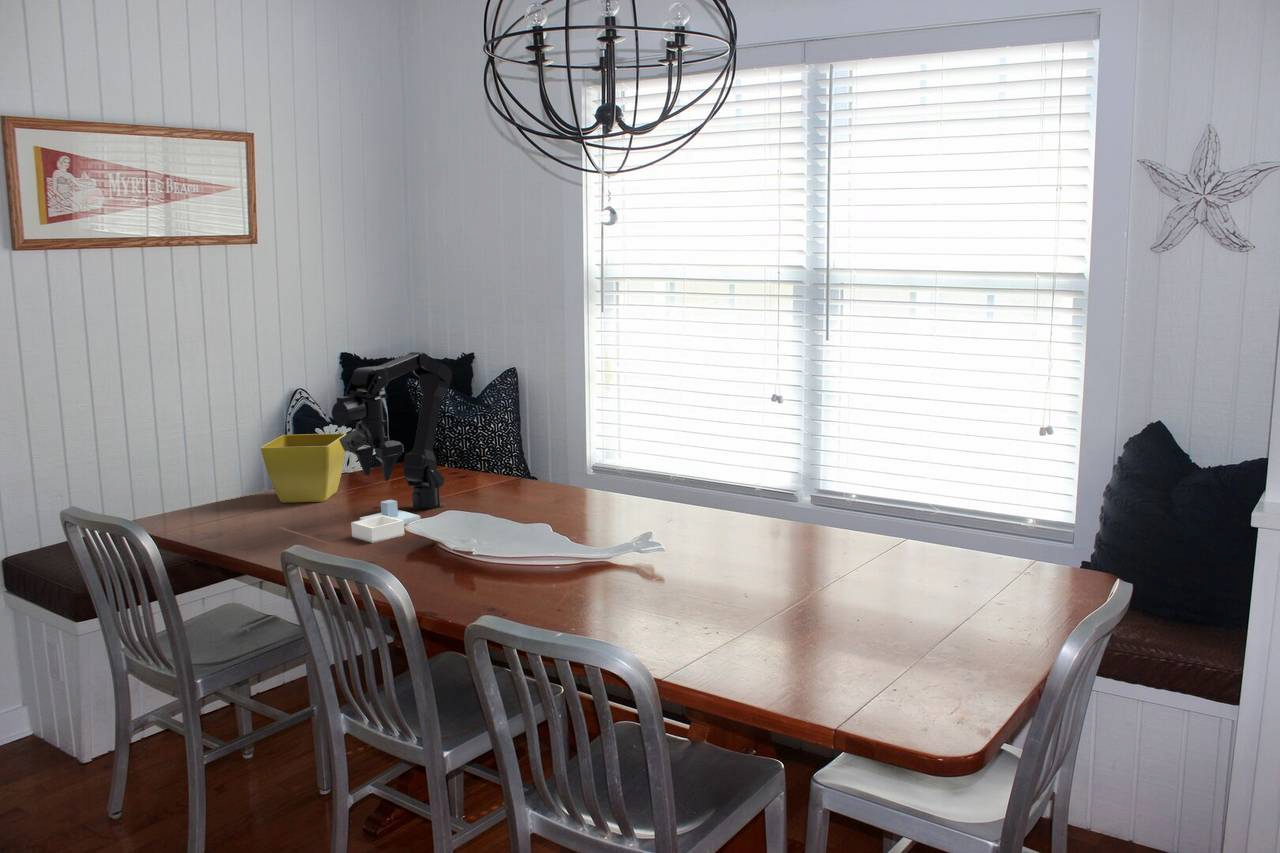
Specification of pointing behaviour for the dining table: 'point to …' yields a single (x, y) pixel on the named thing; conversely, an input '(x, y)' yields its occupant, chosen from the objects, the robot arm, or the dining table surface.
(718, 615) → the dining table surface
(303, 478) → the flower pot
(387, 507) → the lid
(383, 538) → the white open box
